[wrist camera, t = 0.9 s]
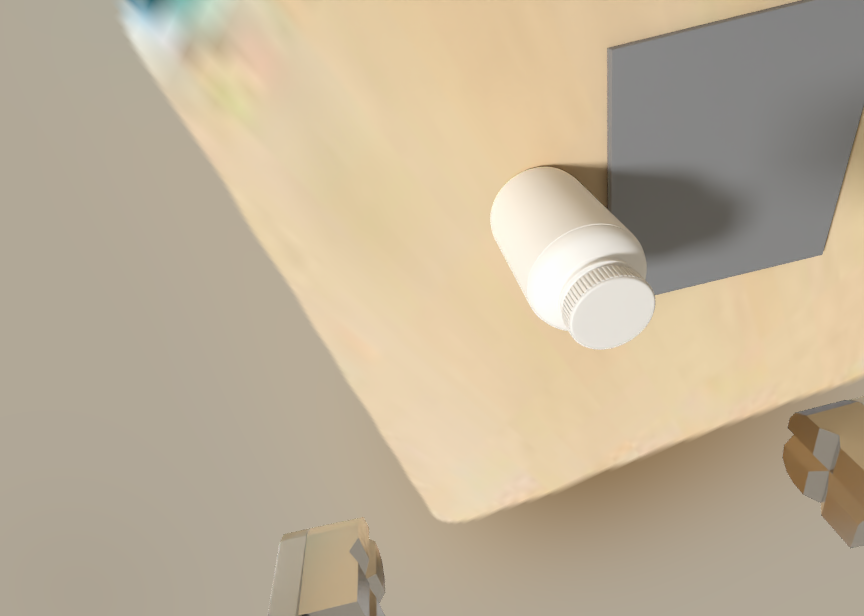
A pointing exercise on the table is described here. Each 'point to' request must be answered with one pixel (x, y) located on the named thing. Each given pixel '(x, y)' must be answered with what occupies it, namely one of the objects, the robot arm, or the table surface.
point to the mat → (734, 138)
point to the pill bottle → (572, 258)
